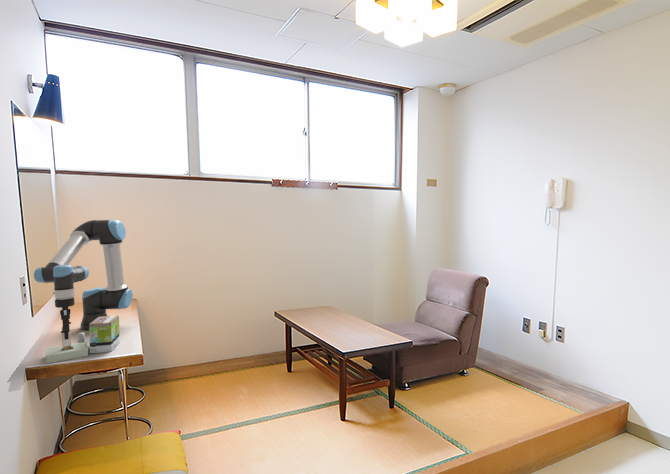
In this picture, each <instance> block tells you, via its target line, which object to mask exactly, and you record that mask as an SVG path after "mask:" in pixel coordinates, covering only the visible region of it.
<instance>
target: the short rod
mask: <svg viewBox="0 0 670 474" xmlns="http://www.w3.org/2000/svg"><path fill="white" fill-rule="evenodd" d="M76 337H77V343H83V342H86V332H83V331H82V332H78V333H77V336H76Z"/></svg>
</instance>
